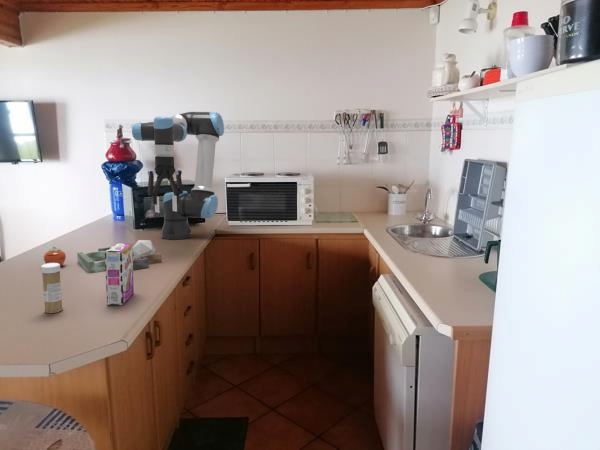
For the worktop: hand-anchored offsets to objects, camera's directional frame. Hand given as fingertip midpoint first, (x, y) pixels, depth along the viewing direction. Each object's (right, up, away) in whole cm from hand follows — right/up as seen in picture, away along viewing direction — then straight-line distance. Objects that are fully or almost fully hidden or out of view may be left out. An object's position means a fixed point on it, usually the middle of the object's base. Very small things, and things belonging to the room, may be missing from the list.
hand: (166, 211), depth 182 cm
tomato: (-37, -22, -17) cm, 46 cm away
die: (-8, -20, -3) cm, 22 cm away
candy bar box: (+2, -29, -49) cm, 57 cm away
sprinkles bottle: (-13, -30, -60) cm, 68 cm away
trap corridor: (-16, -21, -9) cm, 27 cm away
